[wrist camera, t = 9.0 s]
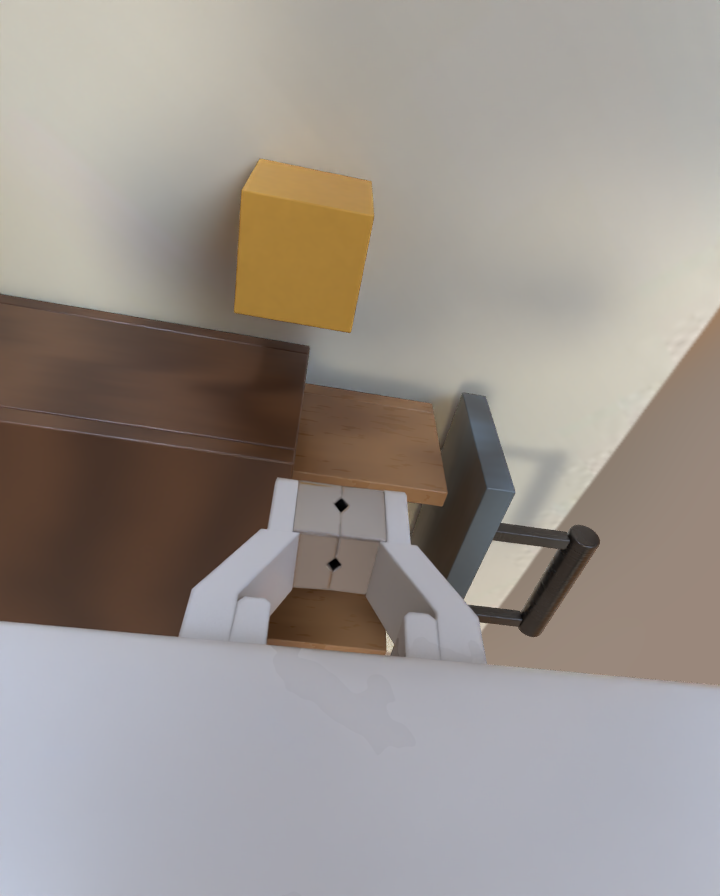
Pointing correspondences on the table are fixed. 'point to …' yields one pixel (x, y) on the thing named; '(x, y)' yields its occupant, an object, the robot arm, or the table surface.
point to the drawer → (441, 516)
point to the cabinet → (132, 460)
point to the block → (302, 245)
